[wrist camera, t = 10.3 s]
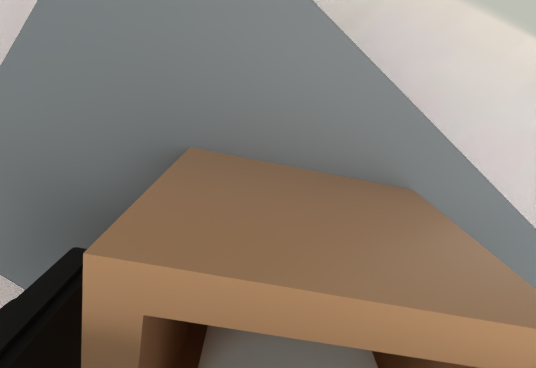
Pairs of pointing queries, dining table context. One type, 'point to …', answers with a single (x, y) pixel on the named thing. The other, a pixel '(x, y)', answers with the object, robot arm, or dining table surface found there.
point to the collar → (297, 272)
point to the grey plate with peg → (212, 132)
